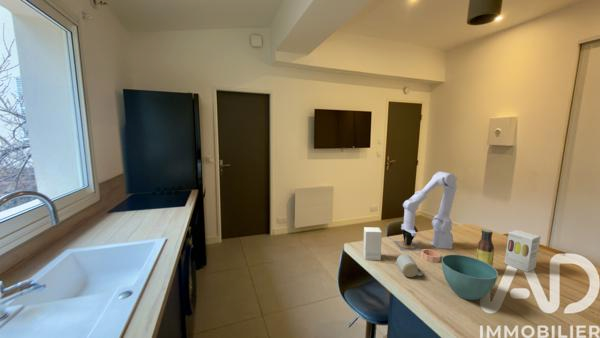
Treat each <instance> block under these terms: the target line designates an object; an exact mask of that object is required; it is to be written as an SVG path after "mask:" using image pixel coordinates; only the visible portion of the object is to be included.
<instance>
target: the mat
mask: <svg viewBox="0 0 600 338" xmlns="http://www.w3.org/2000/svg"><path fill="white" fill-rule="evenodd" d="M400 241H401V240H397V241H396V240H395V241H392V242H393V243H394V244H395V245H396V246H397V247H398V249H399V250H400V251H403V252H404V251H407V252H408V251H409V252H412V251H414V252H421V251H422V250H423V249H421V248H420V247H419V246H418V245H417V244H416V243H415V242H414V241H412V243H414V244H415V245H416V249H413V250H409V249H404V248H402V247H400V246H399V245H398V243H399V242H400Z"/></svg>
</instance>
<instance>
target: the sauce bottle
mask: <svg viewBox="0 0 600 338" xmlns="http://www.w3.org/2000/svg"><path fill="white" fill-rule="evenodd" d="M492 236H493V231H492V230H491V229H490V230H489V229H487V228H485V229H481V237H480V240H479V241H478V242H477V247H476V248H477V249H476V258H475V259H478V260H481V261H483V262H485V263H487V264H489V265H490V266H492V267H493V266H494V265H493V264H494V263H493V262H494V253H495V252H494V251H495V247H494V244H493V240H492Z"/></svg>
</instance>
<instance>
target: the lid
mask: <svg viewBox="0 0 600 338" xmlns="http://www.w3.org/2000/svg"><path fill="white" fill-rule="evenodd" d="M399 241H400V242H399V243H398V245H399V246H400V247H402V248H404V249H409V250H413V249H416V245H417V244H416V243H415V242H414V243H415V244H416V245H415V244H414V243H411V245H407V243H406V237H405V242H404V240H399Z"/></svg>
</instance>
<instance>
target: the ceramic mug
mask: <svg viewBox="0 0 600 338" xmlns="http://www.w3.org/2000/svg"><path fill="white" fill-rule="evenodd" d="M396 265H397V267H398V268H399V270H400V272H401V273H402V274H403V275H404V277H407V278H414V277H416V276H419V277H422V276H423V275H424V272H423V270H421V268H419V266H418V265H417V264H416V262H415V261H414V259H413V257H412V256H411V255H409V254H406V253H402V254H400V255H399V256H398V257H397V258H396Z"/></svg>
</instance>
